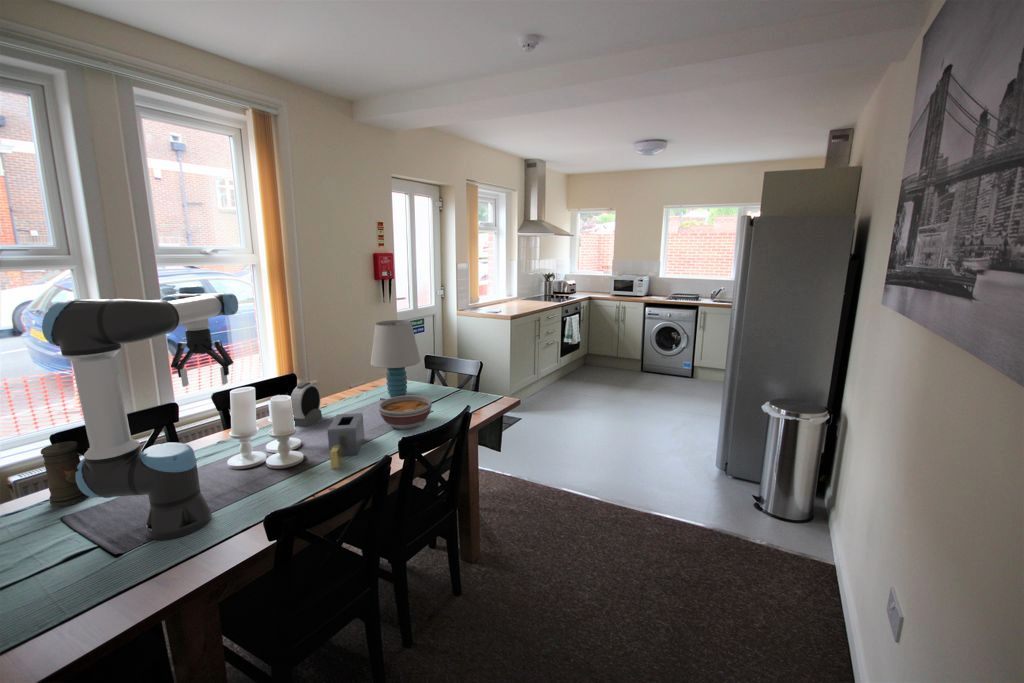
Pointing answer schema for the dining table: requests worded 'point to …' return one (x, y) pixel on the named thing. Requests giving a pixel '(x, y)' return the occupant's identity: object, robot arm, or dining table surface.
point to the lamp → (394, 353)
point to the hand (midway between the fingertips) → (205, 384)
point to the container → (62, 473)
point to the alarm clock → (306, 404)
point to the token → (335, 456)
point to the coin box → (347, 433)
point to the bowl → (405, 411)
